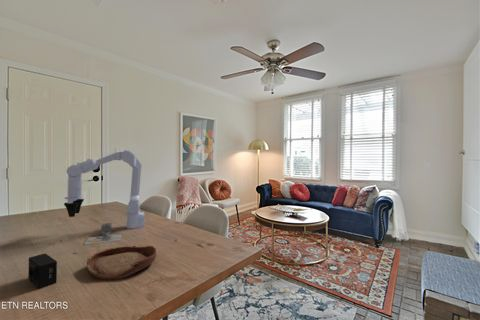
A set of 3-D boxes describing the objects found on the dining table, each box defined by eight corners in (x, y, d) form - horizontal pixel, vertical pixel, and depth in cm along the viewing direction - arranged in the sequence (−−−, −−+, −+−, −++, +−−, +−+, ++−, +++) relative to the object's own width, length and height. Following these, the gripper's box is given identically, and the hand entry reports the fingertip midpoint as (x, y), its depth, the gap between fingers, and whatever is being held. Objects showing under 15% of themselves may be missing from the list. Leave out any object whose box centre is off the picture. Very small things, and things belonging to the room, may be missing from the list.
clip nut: (111, 232, 114) (111, 222, 114) (110, 235, 110) (110, 225, 110) (102, 233, 112) (102, 223, 112) (101, 236, 108) (101, 226, 108)
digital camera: (23, 280, 70) (23, 258, 71) (45, 273, 75) (45, 252, 75) (33, 291, 65) (33, 267, 65) (56, 283, 69) (56, 260, 69)
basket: (75, 286, 68) (75, 269, 68) (97, 258, 88) (97, 245, 88) (153, 276, 75) (153, 261, 75) (157, 252, 94) (158, 240, 94)
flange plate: (121, 237, 111) (121, 233, 111) (120, 242, 104) (120, 238, 104) (88, 240, 105) (88, 237, 105) (84, 246, 98) (84, 242, 98)
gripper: (69, 187, 119) (69, 212, 119) (59, 190, 105) (59, 219, 105) (85, 186, 121) (85, 211, 121) (77, 190, 108) (77, 217, 108)
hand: (74, 214), depth 113 cm, fingers open, 7 cm apart
